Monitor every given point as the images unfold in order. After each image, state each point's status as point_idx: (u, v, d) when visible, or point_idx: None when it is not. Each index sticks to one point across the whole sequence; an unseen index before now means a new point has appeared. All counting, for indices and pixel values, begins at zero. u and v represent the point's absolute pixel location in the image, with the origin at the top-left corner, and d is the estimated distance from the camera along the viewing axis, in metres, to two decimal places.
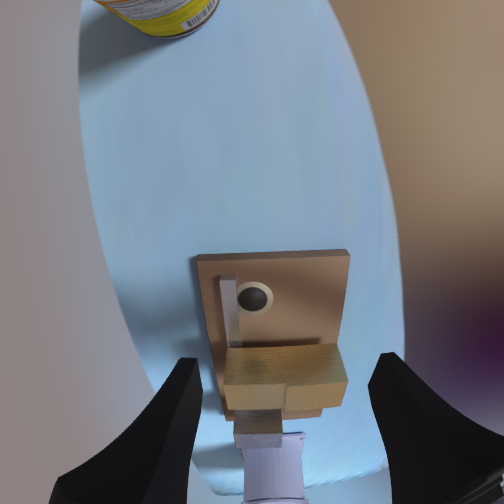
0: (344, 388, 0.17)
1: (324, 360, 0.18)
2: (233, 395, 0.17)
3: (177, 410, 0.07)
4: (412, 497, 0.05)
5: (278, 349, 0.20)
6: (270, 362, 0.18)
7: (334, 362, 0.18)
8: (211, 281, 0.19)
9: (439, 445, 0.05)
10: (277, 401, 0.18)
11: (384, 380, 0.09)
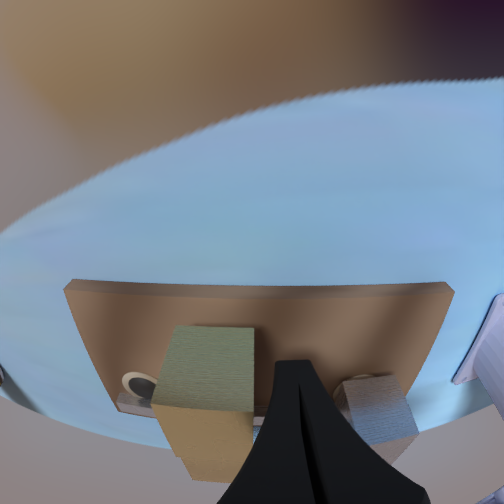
0: (176, 409, 0.07)
1: None
2: (214, 478, 0.10)
3: (299, 413, 0.07)
4: None
5: None
6: None
7: None
8: None
9: (320, 473, 0.05)
10: None
11: None
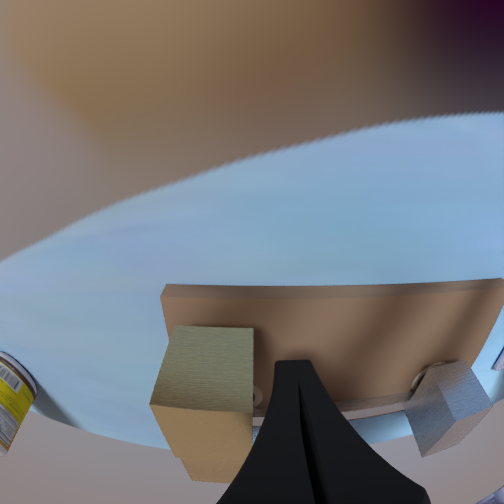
0: (175, 410, 0.07)
1: None
2: (214, 479, 0.10)
3: (299, 413, 0.07)
4: None
5: None
6: None
7: None
8: None
9: (320, 473, 0.05)
10: None
11: None
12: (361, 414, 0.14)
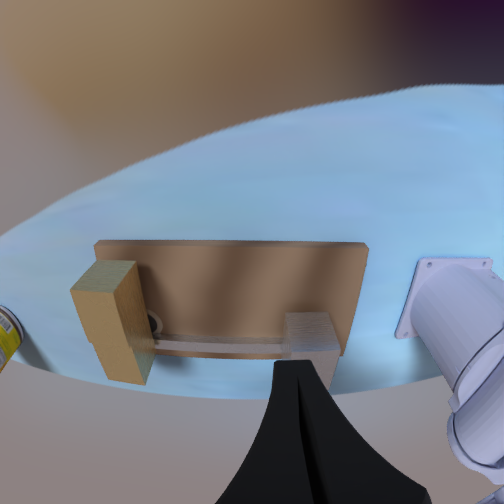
0: (80, 292, 0.14)
1: None
2: (120, 376, 0.17)
3: (298, 413, 0.07)
4: None
5: None
6: None
7: None
8: None
9: (321, 473, 0.05)
10: (119, 349, 0.16)
11: None
12: (239, 349, 0.21)
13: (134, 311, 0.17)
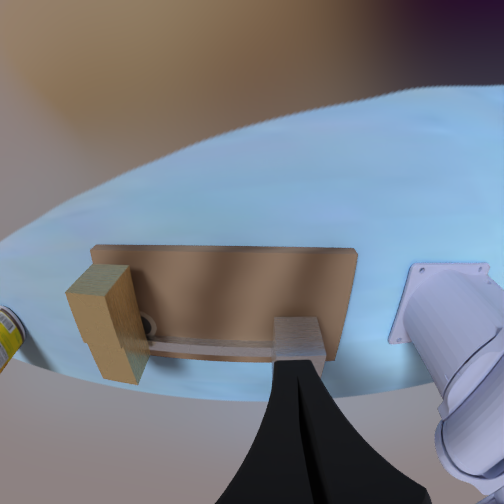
0: (75, 295, 0.14)
1: None
2: (114, 376, 0.18)
3: (298, 413, 0.07)
4: None
5: None
6: None
7: None
8: None
9: (321, 473, 0.05)
10: (112, 349, 0.16)
11: None
12: (230, 352, 0.21)
13: (127, 313, 0.17)
